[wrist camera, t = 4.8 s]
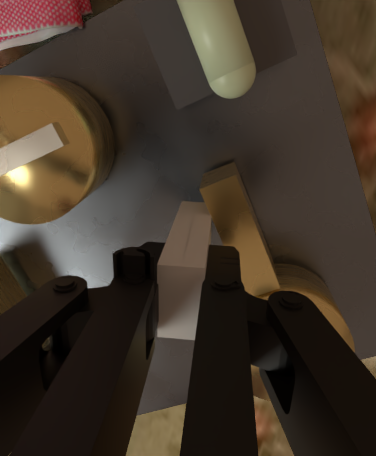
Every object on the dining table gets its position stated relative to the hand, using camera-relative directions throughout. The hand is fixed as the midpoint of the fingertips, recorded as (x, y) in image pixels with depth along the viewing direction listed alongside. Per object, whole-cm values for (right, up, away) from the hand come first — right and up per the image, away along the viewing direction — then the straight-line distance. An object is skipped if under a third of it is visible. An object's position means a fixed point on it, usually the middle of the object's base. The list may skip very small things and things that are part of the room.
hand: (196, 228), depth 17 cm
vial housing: (+1, +8, -2) cm, 9 cm away
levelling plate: (-4, -1, +5) cm, 6 cm away
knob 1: (-10, +3, +1) cm, 10 cm away
